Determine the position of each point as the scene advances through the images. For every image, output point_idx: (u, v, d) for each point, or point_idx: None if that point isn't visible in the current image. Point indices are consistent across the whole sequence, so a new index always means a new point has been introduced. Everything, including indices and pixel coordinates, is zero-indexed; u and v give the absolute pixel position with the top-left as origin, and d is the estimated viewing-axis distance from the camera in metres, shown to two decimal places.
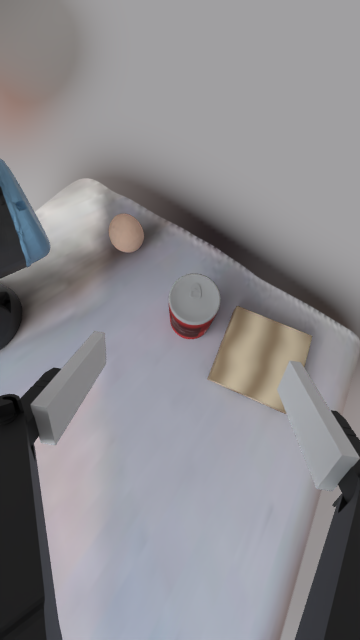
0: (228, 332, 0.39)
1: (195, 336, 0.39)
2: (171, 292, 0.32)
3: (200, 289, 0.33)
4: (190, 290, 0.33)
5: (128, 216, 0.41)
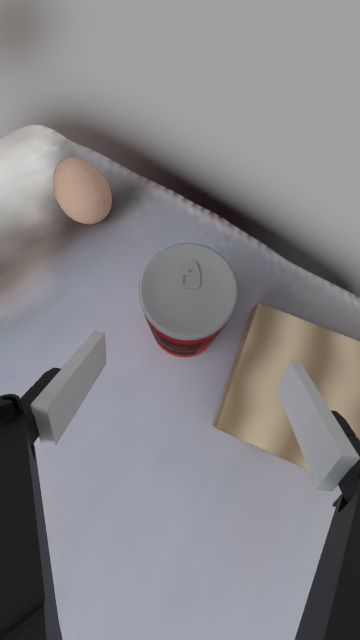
0: (246, 346, 0.24)
1: (192, 354, 0.24)
2: (144, 278, 0.17)
3: (199, 271, 0.18)
4: (181, 274, 0.18)
5: (81, 160, 0.25)
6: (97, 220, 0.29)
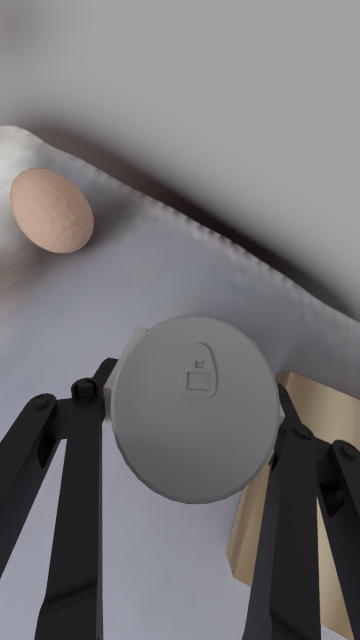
0: None
1: None
2: (120, 379, 0.10)
3: (214, 365, 0.11)
4: (183, 370, 0.11)
5: (47, 172, 0.18)
6: (74, 249, 0.22)
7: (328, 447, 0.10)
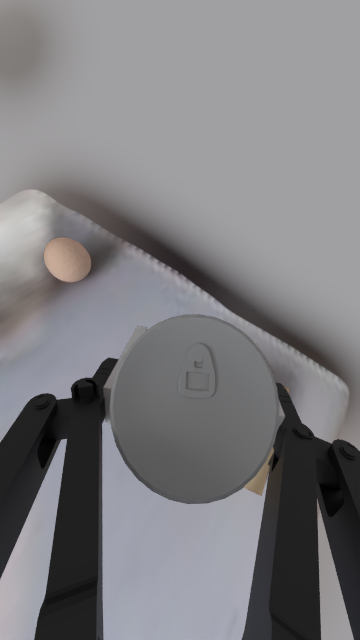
0: None
1: None
2: (119, 379, 0.10)
3: (213, 365, 0.11)
4: (182, 370, 0.11)
5: (65, 241, 0.33)
6: (79, 280, 0.37)
7: (328, 447, 0.10)
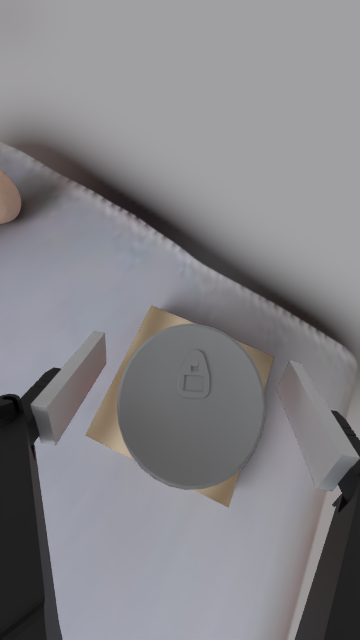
0: (131, 350, 0.23)
1: None
2: (125, 382, 0.11)
3: (208, 369, 0.12)
4: (181, 373, 0.12)
5: None
6: (3, 219, 0.28)
7: None
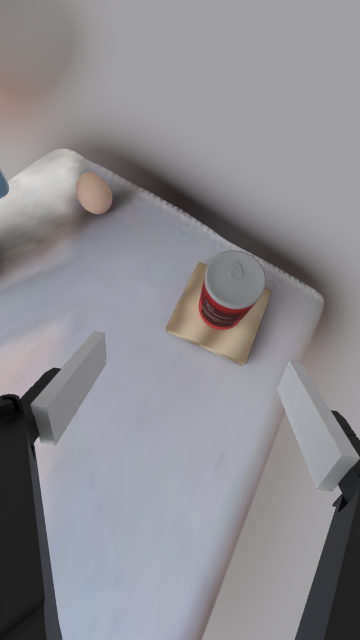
0: (188, 285, 0.39)
1: (229, 326, 0.34)
2: (208, 271, 0.28)
3: (241, 268, 0.28)
4: (230, 270, 0.28)
5: (94, 174, 0.42)
6: (102, 211, 0.46)
7: None
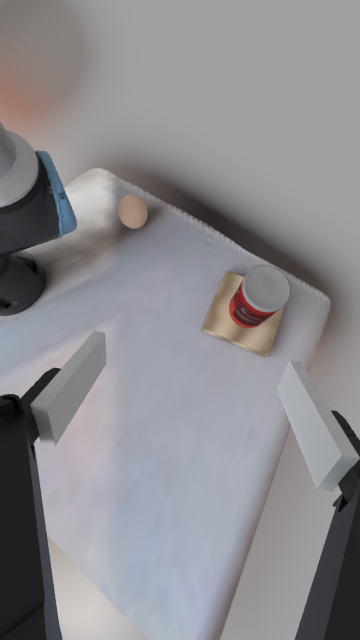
0: (218, 291, 0.47)
1: (256, 325, 0.42)
2: (245, 282, 0.35)
3: (271, 279, 0.36)
4: (262, 281, 0.36)
5: (135, 196, 0.49)
6: (139, 226, 0.53)
7: None
